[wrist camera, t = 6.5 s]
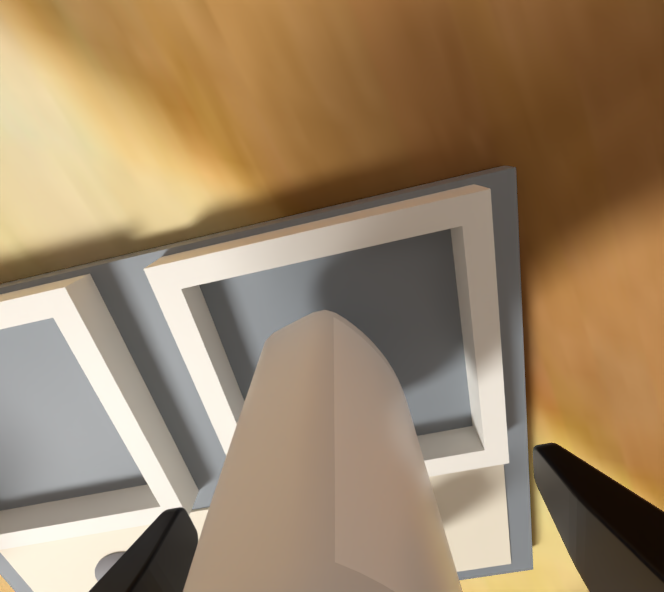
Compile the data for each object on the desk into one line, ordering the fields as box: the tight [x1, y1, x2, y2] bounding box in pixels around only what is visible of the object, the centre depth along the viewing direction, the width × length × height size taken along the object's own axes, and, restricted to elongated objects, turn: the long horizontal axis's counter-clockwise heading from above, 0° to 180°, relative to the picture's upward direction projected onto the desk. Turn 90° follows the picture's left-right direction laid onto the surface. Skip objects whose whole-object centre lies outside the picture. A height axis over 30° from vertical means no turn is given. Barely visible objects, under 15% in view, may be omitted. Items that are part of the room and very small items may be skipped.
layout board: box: [0, 166, 533, 592], centre depth 13 cm, size 18×24×6 cm
